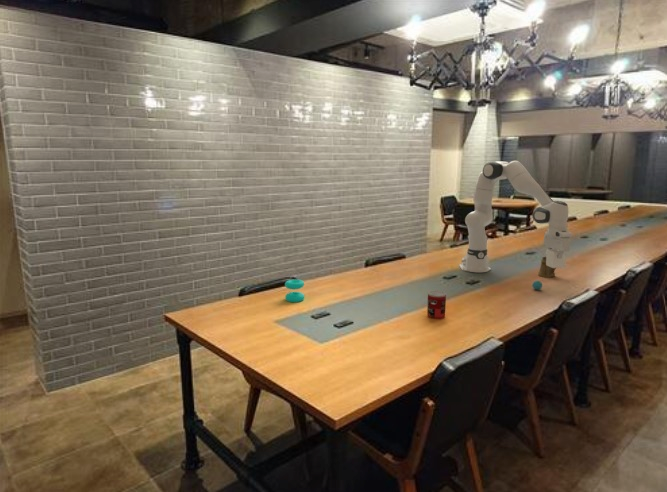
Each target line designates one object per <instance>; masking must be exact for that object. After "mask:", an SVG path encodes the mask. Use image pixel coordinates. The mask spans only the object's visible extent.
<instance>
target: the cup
mask: <svg viewBox="0 0 667 492" xmlns="http://www.w3.org/2000/svg"><path fill="white" fill-rule="evenodd" d="M558 254H559V250H556V249H554V248H553V249H548V248H547V249H546V253H545V257H546V265H547V266H549V267H551V268H556V269H558V268H560V269H561V268H566V267H567V265H566V263H567V252H564V253H563V255H562V258H561V259H559V258H557V255H558Z"/></svg>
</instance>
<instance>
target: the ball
mask: <svg viewBox="0 0 667 492" xmlns="http://www.w3.org/2000/svg"><path fill="white" fill-rule="evenodd" d="M531 286H532V288H533V289H534V290H537V291H538V290H541V289H542V287H543V283H542V282H541V281H540V280H534V281H533V282H532V285H531Z"/></svg>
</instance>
